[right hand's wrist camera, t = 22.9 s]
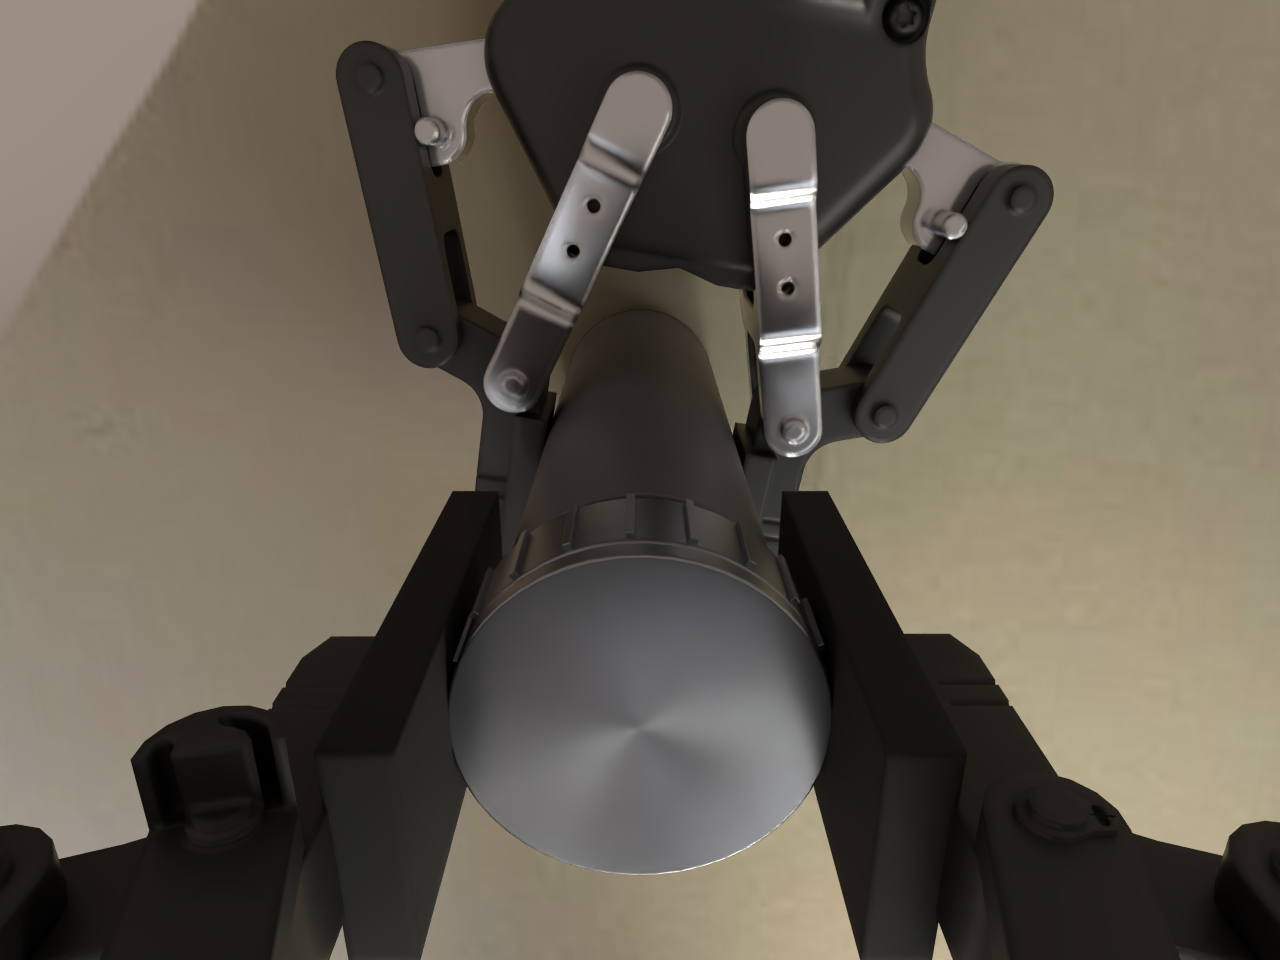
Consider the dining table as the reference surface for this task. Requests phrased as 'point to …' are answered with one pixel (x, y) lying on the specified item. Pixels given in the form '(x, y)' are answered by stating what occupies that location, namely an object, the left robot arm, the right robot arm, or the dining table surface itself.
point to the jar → (640, 426)
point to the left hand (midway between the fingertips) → (622, 565)
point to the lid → (640, 689)
